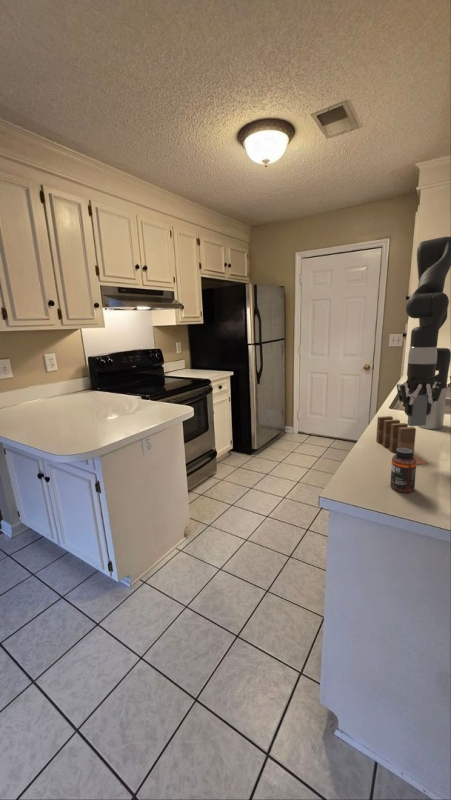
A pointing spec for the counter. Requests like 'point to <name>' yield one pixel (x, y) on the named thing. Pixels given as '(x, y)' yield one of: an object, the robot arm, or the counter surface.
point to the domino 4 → (406, 438)
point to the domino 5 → (419, 411)
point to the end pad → (420, 461)
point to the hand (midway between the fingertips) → (417, 414)
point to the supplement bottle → (403, 470)
